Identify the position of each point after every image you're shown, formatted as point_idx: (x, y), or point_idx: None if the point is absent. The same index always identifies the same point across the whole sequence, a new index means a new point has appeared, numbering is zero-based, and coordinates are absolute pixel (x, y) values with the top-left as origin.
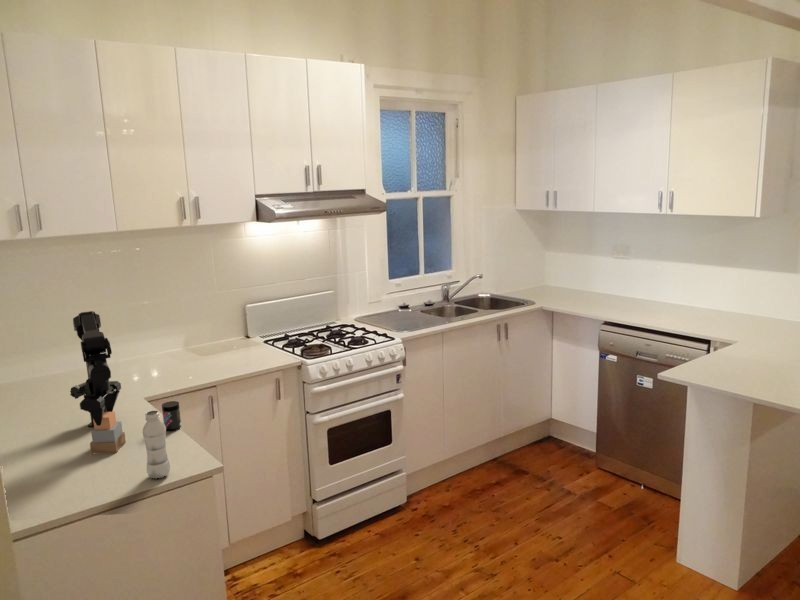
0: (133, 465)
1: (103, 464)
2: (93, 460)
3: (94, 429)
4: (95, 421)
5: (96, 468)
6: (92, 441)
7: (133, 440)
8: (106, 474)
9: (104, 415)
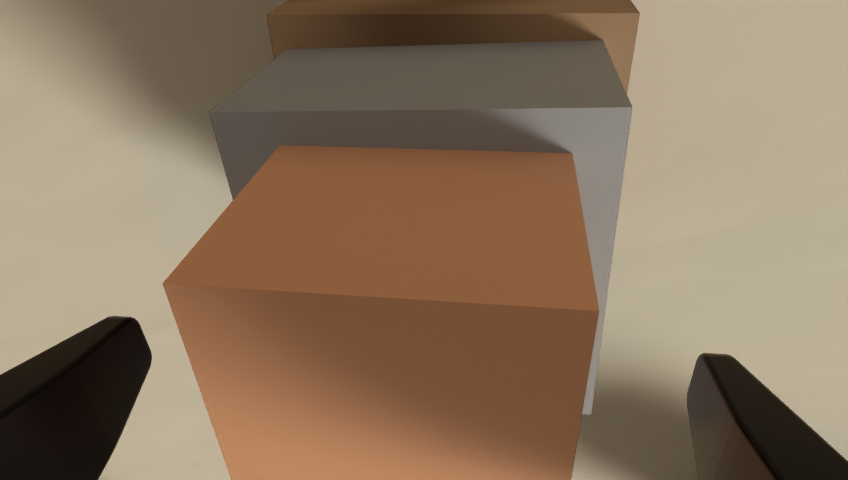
0: (161, 381)
1: (129, 194)
2: (180, 75)
3: (293, 138)
4: (16, 379)
5: (54, 164)
6: (332, 22)
7: (611, 292)
8: (2, 265)
9: (338, 457)
